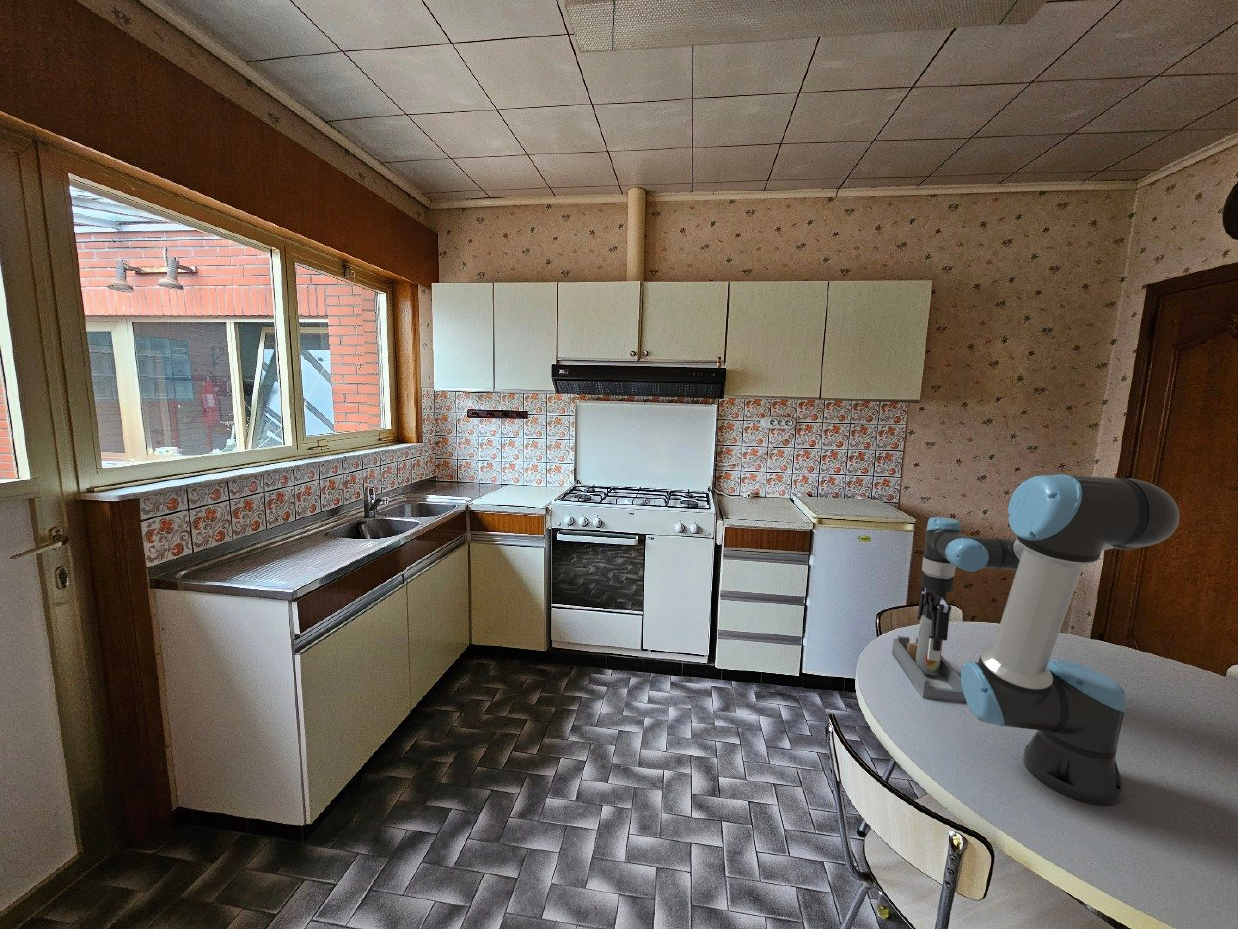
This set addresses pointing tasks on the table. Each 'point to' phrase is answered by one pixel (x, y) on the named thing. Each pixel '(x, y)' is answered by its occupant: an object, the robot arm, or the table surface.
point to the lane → (929, 686)
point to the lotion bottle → (926, 645)
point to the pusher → (912, 650)
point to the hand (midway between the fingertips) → (928, 654)
